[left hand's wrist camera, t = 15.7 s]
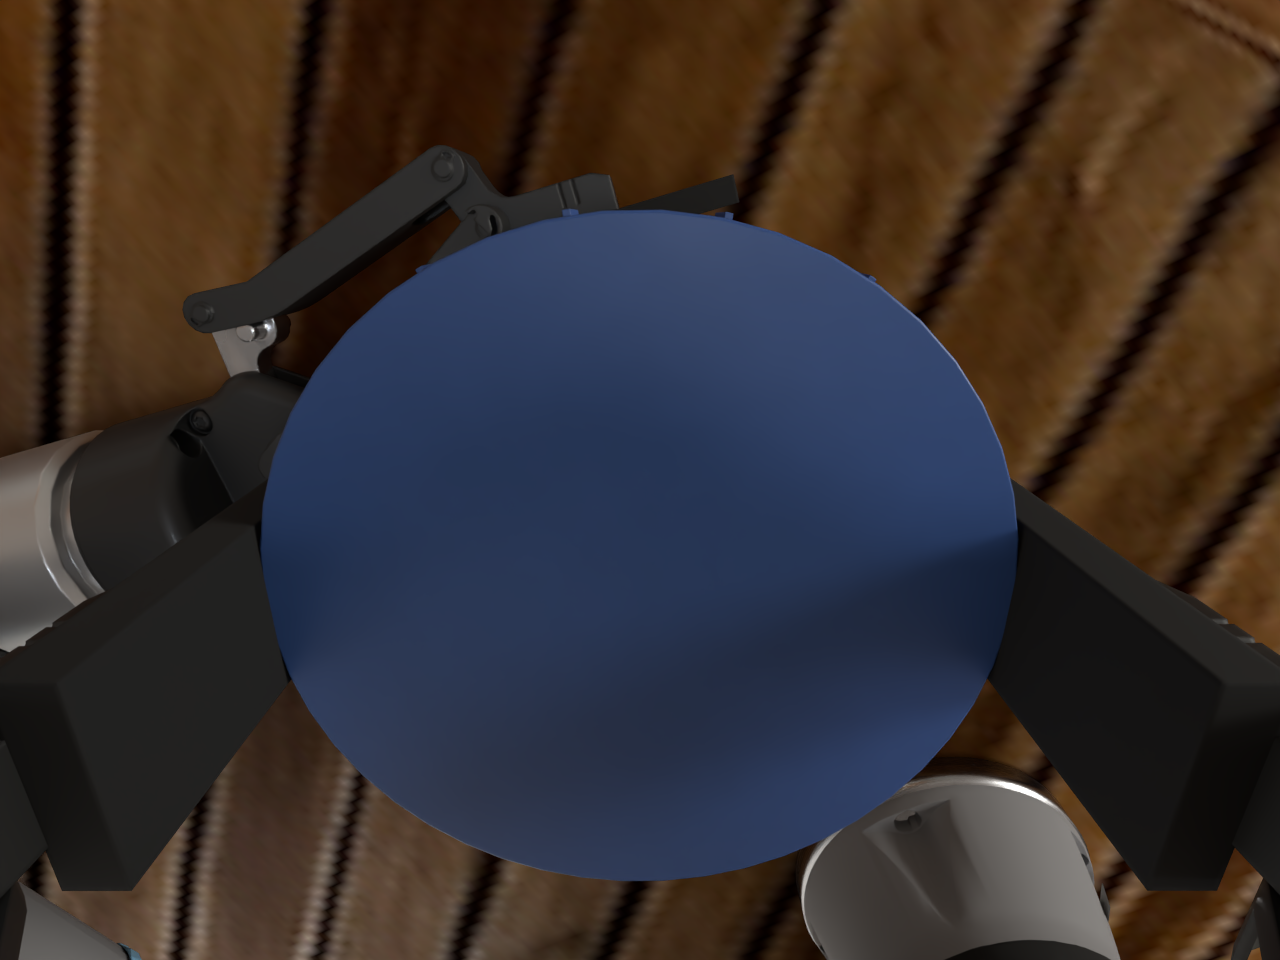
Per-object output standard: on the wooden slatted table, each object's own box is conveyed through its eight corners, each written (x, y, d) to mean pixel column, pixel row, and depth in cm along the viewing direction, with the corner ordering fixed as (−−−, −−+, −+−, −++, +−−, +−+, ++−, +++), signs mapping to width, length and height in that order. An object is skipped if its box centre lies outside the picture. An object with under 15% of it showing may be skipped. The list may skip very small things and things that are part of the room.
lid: (515, 30, 9) (486, -12, 8) (1113, 464, 11) (1194, 506, 10) (212, 636, 12) (146, 699, 11) (719, 881, 15) (729, 966, 13)
